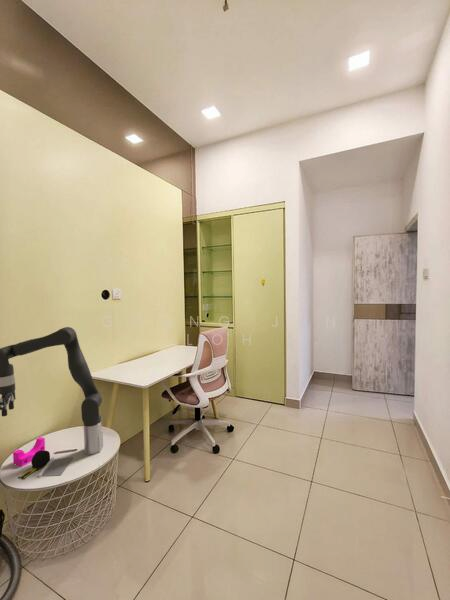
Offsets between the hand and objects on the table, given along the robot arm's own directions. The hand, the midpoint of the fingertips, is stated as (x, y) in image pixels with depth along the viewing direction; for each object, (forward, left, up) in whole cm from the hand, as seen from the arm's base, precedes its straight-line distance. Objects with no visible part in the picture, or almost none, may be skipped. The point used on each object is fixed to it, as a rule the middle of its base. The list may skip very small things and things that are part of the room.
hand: (8, 412), depth 146 cm
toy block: (-11, 0, -27) cm, 29 cm away
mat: (-28, +11, -27) cm, 41 cm away
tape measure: (-18, +12, -27) cm, 35 cm away
